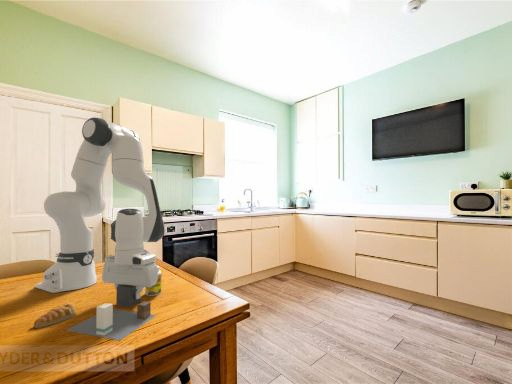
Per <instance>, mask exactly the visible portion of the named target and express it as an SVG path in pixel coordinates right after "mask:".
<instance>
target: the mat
mask: <svg viewBox="0 0 512 384" xmlns="http://www.w3.org/2000/svg"><path fill="white" fill-rule="evenodd" d="M96 316H97V314H96V315H93V316H91V317H89V318H88V319H85V320H84V321H82V322H80V323H77V324H76V325H74V326H72V327H70V328H67V329H66V330H65V332H66V331H67V332H72V333H78V334H82V335H88V336H93V337H99V338H103V339H111V340H114V341H115V340H116V341H122V340H123V339H124V338H126V337H127V336H128V335H130V334H132V333H133V332H134V331H136V330H138V329H139V328H141V327H142V326H143V325H145V324H146V323H148V322H150V321H151V320H152V319H153V318H155V317H156V316H157V314H152V313H150V316H149V317H147V318H146V319H138V318H137V311H129V310H123V309H118V308H117V309H116V308H113V328H112V331H111V332H109V333H108V334H106V335H98V334H96Z"/></svg>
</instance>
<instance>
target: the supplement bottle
mask: <svg viewBox="0 0 512 384" xmlns="http://www.w3.org/2000/svg"><path fill="white" fill-rule="evenodd" d="M162 273H163V272H162V271H161V270H160V265H157V274H158V279H157V283H156V284H155V285H153V286H151V287H145V290H144V292H145V296H147V297H154V296H158V295H161V294H162Z"/></svg>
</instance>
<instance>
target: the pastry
mask: <svg viewBox="0 0 512 384" xmlns="http://www.w3.org/2000/svg"><path fill="white" fill-rule="evenodd" d="M76 314H77V313H76V310H75V308H74V305H72V304H70V303H67V304H63V305H62V306H58V307H55V308H52V309H50V310H49V311H48V312H46V313H45V314H42V315H41V316H39V317H38V318H37V319H36V320H35V321H34V322H33V328H36V329H41V328H45V327H48V326H52V325H56V324H59V323H61V322H63V321H65V320H69V319H72V318H73V317H76Z"/></svg>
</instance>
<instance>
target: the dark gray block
mask: <svg viewBox="0 0 512 384" xmlns="http://www.w3.org/2000/svg"><path fill="white" fill-rule="evenodd" d="M136 292H137V289H136V286H131V285H119V286H117V291H116V301H115V303H116V304H115V305H116V306H117V307H124V308H131V307H133V306H135V305H137V304H139V303H141V301H142V300H141V299H142V298H141V297H142V296H141V297H140V298H139V299H134V298H133V297H134V296H133V294H134V293H136Z"/></svg>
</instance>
